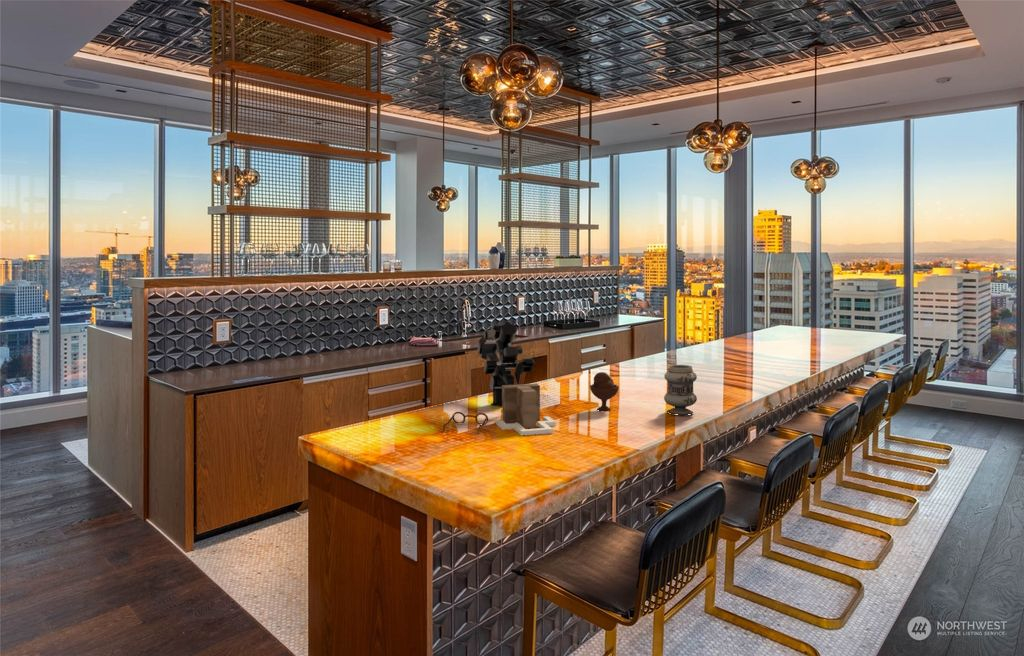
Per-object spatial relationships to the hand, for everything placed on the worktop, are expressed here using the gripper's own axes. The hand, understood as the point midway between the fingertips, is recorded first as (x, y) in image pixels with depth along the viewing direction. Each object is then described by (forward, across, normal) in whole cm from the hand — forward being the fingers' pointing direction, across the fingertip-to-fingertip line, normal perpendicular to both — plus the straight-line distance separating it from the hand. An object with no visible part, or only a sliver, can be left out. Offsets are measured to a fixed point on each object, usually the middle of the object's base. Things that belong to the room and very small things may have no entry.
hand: (513, 384), depth 244 cm
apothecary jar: (+20, +61, -3) cm, 64 cm away
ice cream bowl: (+11, +35, +6) cm, 37 cm away
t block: (+18, 0, -2) cm, 19 cm away
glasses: (+19, -22, -2) cm, 29 cm away
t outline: (+23, 0, -6) cm, 24 cm away
